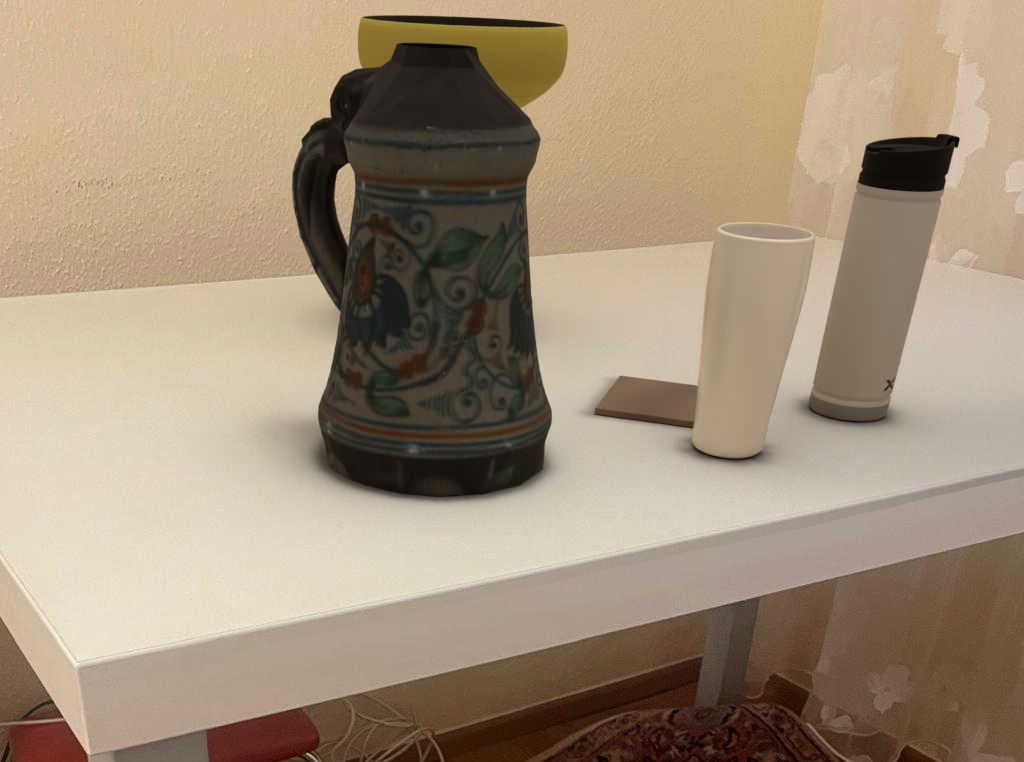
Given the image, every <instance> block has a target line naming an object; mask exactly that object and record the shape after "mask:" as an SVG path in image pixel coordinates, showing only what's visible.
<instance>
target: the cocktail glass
mask: <svg viewBox="0 0 1024 762" xmlns="http://www.w3.org/2000/svg"><path fill="white" fill-rule="evenodd" d="M399 43H434V44H452V45H465V46H472V47H476V48H477V52H478V56H479V60H480V62H481V63H482V65H483V66H484V67H485V69H486V70H487V71H488V73H489V74H490V76H491V77H492V78H493V80H494V81H495V83H496V84H497V85H498V87H499V88H500V89H501V90H502V91H503V92H504V93H505V94H506V95H507V96H508V97H509V98H510V99H511V100H512V101H513V102H514V103H515V104H516V105H517V106H518V107H519V108H520V109H522V108H523V107H526V106H527V105H529V104H531V103H532V102H534V101H535V100H538V99H539V98H540V97H541V96H543V95H545V94H546V92H548V91H549V90H550V89H551V88H552V87H553V86H554V85H555V84H556V83H557V82H558V81H559V79H560V78H561V77H562V75H563V73H564V70H565V67H566V63H567V57H568V51H569V49H568V48H569V36H568V28H567V25H566V24H563V23H556V22H548V21H540V20H539V21H538V20H537V21H536V20H526V19H514V18H513V19H511V18H497V17H476V16H475V17H474V16H449V15H414V14H413V15H411V14H410V15H409V14H408V15H407V14H406V15H405V14H403V15H402V14H391V15H390V14H389V15H388V14H387V15H386V14H384V15H383V14H382V15H365V16H361V17H360V19H359V23H358V31H357V55H358V60H359V64H360V67H361V68H374V67H381V66H383V65H384V64H385V63H387V62H388V61H389V60H391V58H392V55H393V53H394V50H395V48H396V45H397V44H399Z"/></svg>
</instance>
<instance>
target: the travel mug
mask: <svg viewBox="0 0 1024 762" xmlns="http://www.w3.org/2000/svg"><path fill="white" fill-rule="evenodd" d="M960 141H961V138H960V137H959V136H956V135H953V134H948V133H938V134H937V135H936V136H905V137H893V138H886V139H885V138H884V139H880V140H876V141H871V142H869V143H867V144H866V145H865V148H864V151H863V152H864V153H863V157H862V162H861V171H860V172H859V175H858V180H857V181H856V185H855V190H856V191H855V192H854V194H853V199H852V203H851V208H850V212H849V217H848V222H847V226H846V231H845V235H844V240H843V245H842V250H841V254H840V259H839V263H838V268H837V273H836V277H835V282H834V286H833V290H832V295H831V299H830V304H829V309H828V312H827V313H828V314H827V318H826V322H825V327H824V332H823V335H822V341H821V345H820V350H819V355H818V359H817V363H816V368H815V373H814V377H813V381H812V384H813V385H812V387H811V390H810V396H809V400H808V405H809V407H810V409H812V411H814V412H815V413H817V414H818V415H821V416H824V417H827V418H831V419H835V420H840V421H847V422H874V421H878V420H880V419H882V418H884V417H885V416H886V415H887V414H888V410H889V406H890V404H891V399H892V394H893V392H894V388H895V384H896V380H897V376H898V371H899V369H900V363H901V360H902V357H903V353H904V348H905V344H906V341H907V336H908V333H909V328H910V325H911V321H912V318H913V313H914V309H915V306H916V302H917V298H918V294H919V290H920V286H921V283H922V279H923V275H924V270H925V268H926V263H927V260H928V256H929V251H930V247H931V244H932V240H933V237H934V232H935V228H936V224H937V220H938V216H939V214H940V213H939V212H940V209H941V205H942V199H941V198H942V197H943V196H944V193H945V186H946V183H947V179H946V176H947V175H948V174H949V171H950V166H951V162H952V159H953V154H954V151H955V148H956V149H957V148H959V144H960Z"/></svg>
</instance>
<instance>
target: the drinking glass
mask: <svg viewBox="0 0 1024 762" xmlns="http://www.w3.org/2000/svg"><path fill="white" fill-rule="evenodd" d="M816 238H817V237H816V234H815V233H814V232H813V231H811V230H809V229H805V228H802V227H798V226H794V225H787V224H781V223H772V222H758V221H738V222H728V223H727V222H726V223H722V224H720V225H718V226H717V227H716V230H715V235H714V239H713V244H712V248H711V255H710V260H709V266H708V271H707V277H706V286H705V293H704V303H703V316H702V329H701V342H700V353H699V366H698V376H697V377H698V378H697V385H698V389H697V400H696V411H695V419H694V425H693V427H692V433H691V442H692V444H693V446H694V447H695V448H696V449H697V450H698V451H700V452H702V453H704V454H707V455H711V456H712V457H713V456H714V457H718V458H724V459H746V458H751V457H754V456H756V455H758V454H759V453H760V452H761V451H762V450H763V448H764V447H765V443H766V439H767V432H768V429H769V424H770V419H771V416H772V413H773V410H774V409H773V408H774V407H775V402H776V398H777V394H778V391H779V388H780V384H781V380H782V377H783V374H784V370H785V367H786V364H787V360H788V356H789V353H790V350H791V347H792V343H793V339H794V336H795V333H796V330H797V326H798V322H799V319H800V315H801V313H802V308H803V305H804V301H805V297H806V292H807V287H808V285H809V278H810V273H811V268H812V263H813V255H814V249H815V243H816Z"/></svg>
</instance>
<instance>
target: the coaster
mask: <svg viewBox="0 0 1024 762" xmlns="http://www.w3.org/2000/svg"><path fill="white" fill-rule="evenodd" d="M697 389H698V384H697V385H696V384H690V383H681V382H673V381H666V380H658V379H650V378H644V377H643V378H642V377H636V376H635V377H634V376H627V375H619V376H618V378H616V380H615V382H614V383H613V384H612V385H611V387H610V388H609V389H608V391H607V392H606V393H605V395H604V396H603V397H602V399H601V400H600V401H599V402H598V403H597V405H596V406H595V407H594V412H593V413H594V414H595V415H599V416H607V417H615V418H621V419H628V420H637V421H643V422H651V423H659V424H665V425H673V426H680V427H687V428H693V425H694V419H695V411H696V400H697Z"/></svg>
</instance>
